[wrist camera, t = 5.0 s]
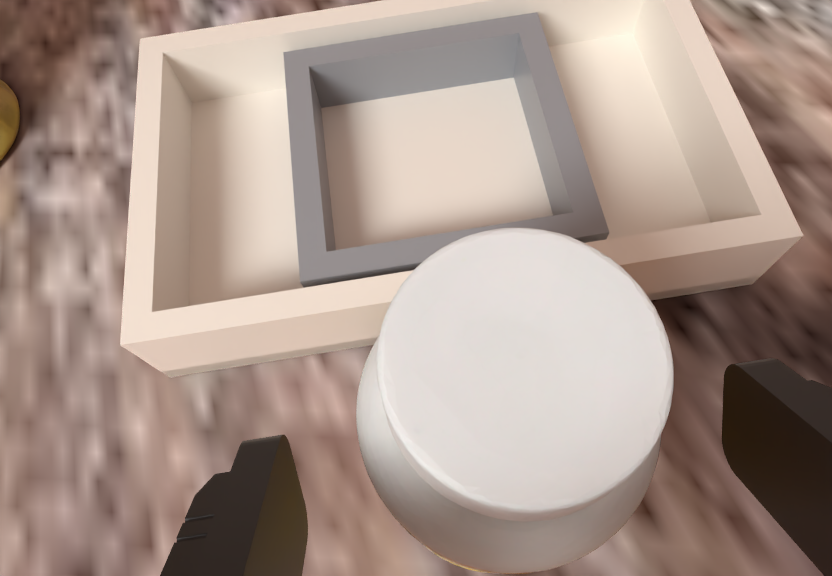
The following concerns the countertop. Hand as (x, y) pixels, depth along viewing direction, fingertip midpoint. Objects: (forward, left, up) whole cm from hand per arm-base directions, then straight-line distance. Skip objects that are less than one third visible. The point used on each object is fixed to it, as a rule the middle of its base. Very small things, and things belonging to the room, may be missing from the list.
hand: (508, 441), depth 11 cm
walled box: (0, +10, -6) cm, 12 cm away
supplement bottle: (0, 0, -6) cm, 6 cm away
